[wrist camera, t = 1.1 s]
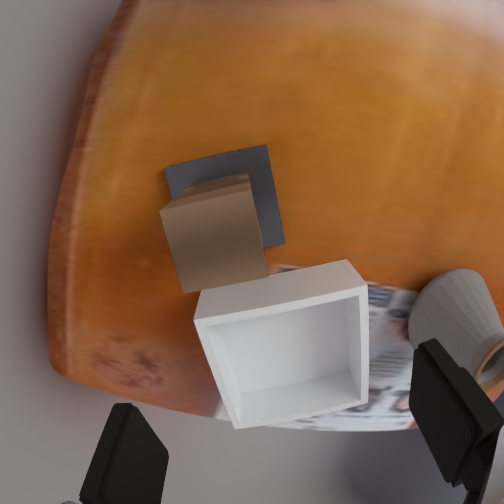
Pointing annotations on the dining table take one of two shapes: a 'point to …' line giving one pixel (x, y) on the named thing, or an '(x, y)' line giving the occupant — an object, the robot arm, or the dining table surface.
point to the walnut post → (215, 234)
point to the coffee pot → (461, 324)
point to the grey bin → (288, 343)
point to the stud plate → (231, 164)
